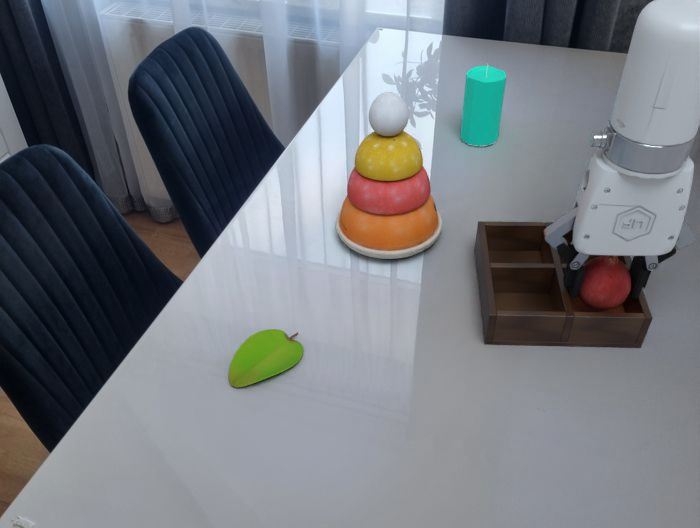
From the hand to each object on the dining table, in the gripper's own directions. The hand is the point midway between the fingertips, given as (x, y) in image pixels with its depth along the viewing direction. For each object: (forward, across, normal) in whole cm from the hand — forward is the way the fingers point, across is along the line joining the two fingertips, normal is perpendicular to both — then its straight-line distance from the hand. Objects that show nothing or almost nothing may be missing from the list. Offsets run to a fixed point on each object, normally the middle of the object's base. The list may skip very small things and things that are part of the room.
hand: (601, 289), depth 77 cm
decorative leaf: (+5, -37, -8) cm, 38 cm away
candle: (+5, -10, +42) cm, 44 cm away
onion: (+3, 0, 0) cm, 3 cm away
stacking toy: (+5, -24, +16) cm, 29 cm away
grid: (+5, -4, +4) cm, 7 cm away
